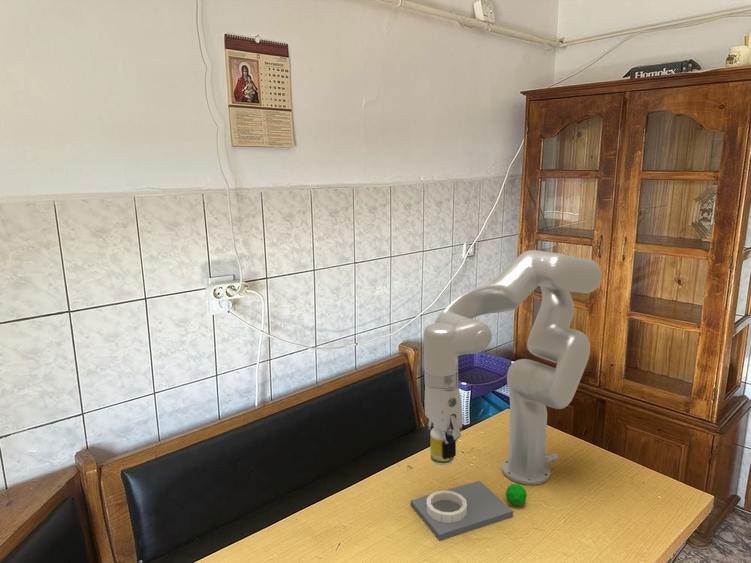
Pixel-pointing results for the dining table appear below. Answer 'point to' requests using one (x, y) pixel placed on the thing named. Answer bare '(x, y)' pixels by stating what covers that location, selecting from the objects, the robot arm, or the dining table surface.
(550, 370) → the robot arm
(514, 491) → the polyhedron
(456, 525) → the pin board
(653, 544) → the dining table surface
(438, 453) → the supplement bottle
